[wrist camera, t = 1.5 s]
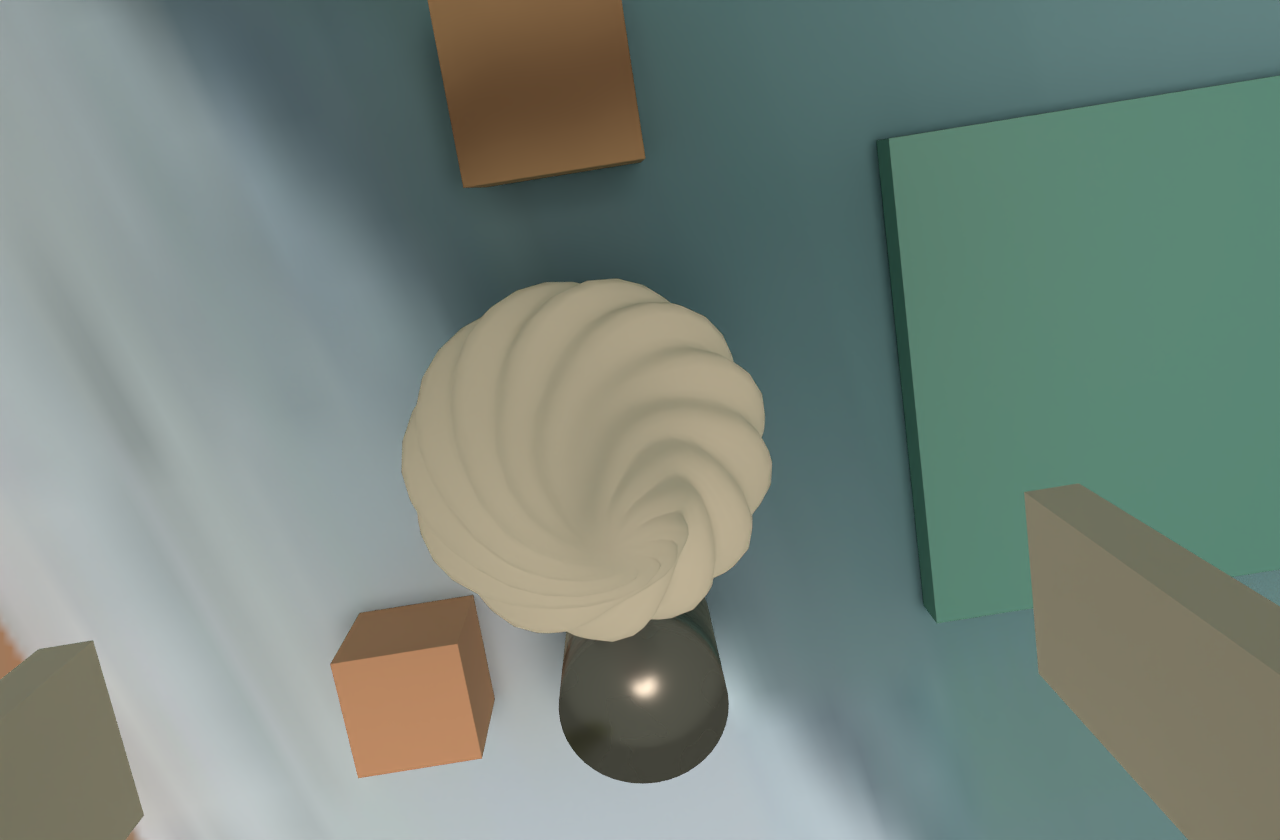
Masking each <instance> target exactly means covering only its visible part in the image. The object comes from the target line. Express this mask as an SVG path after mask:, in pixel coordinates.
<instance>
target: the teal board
mask: <svg viewBox="0 0 1280 840" xmlns="http://www.w3.org/2000/svg"><path fill="white" fill-rule="evenodd" d="M877 151H878V161H879V171H880V180H881V190H882V200H883V210H884V220H885V229H886V239H887V249H888V259H889V269H890V278H891V288H892V298H893V308H894V318H895V328H896V337H897V347H898V357H899V367H900V377H901V386H902V396H903V406H904V416H905V426H906V435H907V445H908V455H909V465H910V475H911V484H912V494H913V504H914V514H915V524H916V534H917V543H918V553H919V563H920V573H921V583H922V592H923V602H924V607H925V608H926V609H927V611H928V612H929V613H930V615H931V616H932V617H933V619H934V620H935V621H936V623H942V622H948V621H955V620H961V619H967V618H974V617H980V616H986V615H993V614H999V613H1005V612H1012V611H1018V610H1024V609H1031V608H1033V596H1032V583H1031V571H1030V559H1029V546H1028V534H1027V521H1026V509H1025V497H1024V492H1028V491H1034V490H1040V489H1046V488H1053V487H1059V486H1065V485H1072V484H1078V483H1079V484H1081V485H1082V486H1084V487H1086V488H1087V489H1089V490H1090V491H1092V492H1094V493H1095V494H1097V495H1099V496H1100V497H1102V498H1103V499H1105V500H1107V501H1108V502H1110V503H1112V504H1113V505H1115V506H1117V507H1118V508H1120V509H1121V510H1123V511H1125V512H1126V513H1128V514H1130V515H1131V516H1133V517H1134V518H1136V519H1138V520H1139V521H1141V522H1143V523H1144V524H1146V525H1147V526H1149V527H1151V528H1152V529H1154V530H1156V531H1157V532H1159V533H1161V534H1162V535H1164V536H1165V537H1167V538H1169V539H1170V540H1172V541H1174V542H1175V543H1177V544H1178V545H1180V546H1182V547H1183V548H1185V549H1187V550H1188V551H1190V552H1192V553H1193V554H1195V555H1196V556H1198V557H1200V558H1201V559H1203V560H1205V561H1206V562H1208V563H1209V564H1211V565H1213V566H1214V567H1216V568H1218V569H1219V570H1221V571H1223V572H1224V573H1226V574H1227V575H1229V576H1231V577H1234V576H1240V575H1247V574H1253V573H1260V572H1266V571H1272V570H1279V569H1280V76H1274V77H1268V78H1261V79H1255V80H1249V81H1243V82H1237V83H1230V84H1224V85H1218V86H1212V87H1206V88H1199V89H1193V90H1187V91H1181V92H1175V93H1168V94H1162V95H1156V96H1150V97H1144V98H1137V99H1131V100H1125V101H1119V102H1113V103H1106V104H1100V105H1094V106H1088V107H1082V108H1075V109H1069V110H1063V111H1057V112H1051V113H1044V114H1038V115H1032V116H1026V117H1020V118H1013V119H1007V120H1001V121H995V122H989V123H982V124H976V125H970V126H964V127H958V128H951V129H945V130H939V131H933V132H927V133H920V134H914V135H908V136H902V137H896V138H889V139H883V140H877Z"/></svg>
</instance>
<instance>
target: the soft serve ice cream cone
mask: <svg viewBox="0 0 1280 840" xmlns="http://www.w3.org/2000/svg"><path fill="white" fill-rule="evenodd" d="M764 426H765V412H764V405H763V398H762V393H761V392H760V390H759V388H758V387H757V385H756V384H755V382H754V380H753V379H752V377H751V375H750V374H749V373H748V372H746V371H745V370H744V369H743V368H742V367H740V366H739V365H737V364H735V363H734V361H733V358H732V354H731V352H730V350H729V348H728V346H727V343H726V341H725V339H724V337H723V335H722V333H721V332H720V331H719V330H718V329H717V328H716V327H715V326H714V325H713V324H712V323H711V322H710V321H709V320H708V319H707V318H706V317H705V316H703V315H700V314H698V313H696V312H694V311H692V310H690V309H687V308H685V307H683V306H681V305H677V304H673V303H670V302H669V301H667V300H666V299H665V298H664V297H662V296H661V295H659V294H657V293H656V292H654V291H652V290H651V289H649V288H647V287H646V286H644V285H641V284H637V283H633V282H629V281H625V280H621V279H617V278H616V279H604V280H592V281H586V282H583V283H581V284H579V283H575V282H544V283H541V284H538V285H534V286H531V287H527V288H524V289H520V290H517V291H515V292H514V293H512V294H511V295H509V296H508V297H506V298H505V299H503V300H501V301H500V302H498V303H497V304H495V305H494V306H492V307H491V308H490V309H489V310H488V311H487V312H486V313H485V314H484V315H483V316H482V317H481V318H479V319H477V320H476V321H474V322H472V323H470V324H468V325H467V326H465V327H463V328H461V329H460V330H459V331H458V332H457V333H456V334H455V335H454V336H453V337H452V338H451V339H450V340H449V341H448V342H446V343H445V344H444V345H443V346H442V347H441V348H440V349H439V350H438V352H437V353H436V355H435V357H434V359H433V360H432V362H431V364H430V365H429V367H428V369H427V371H426V372H425V374H424V376H423V377H422V381H421V386H420V391H419V396H418V400H417V405H416V407H415V408H414V410H413V411H412V414H411V417H410V420H409V423H408V426H407V429H406V432H405V435H404V438H403V441H402V475H403V478H404V482H405V485H406V488H407V491H408V495H409V498H410V501H411V502H412V504H413V506H414V508H415V509H416V511H417V514H418V522H419V527H420V532H421V535H422V538H423V540H424V542H425V544H426V546H427V548H428V550H429V552H430V554H431V556H432V558H433V560H434V562H435V563H436V564H437V565H438V566H439V567H440V568H441V569H442V570H443V571H444V572H445V573H446V574H447V575H448V576H449V577H450V578H451V579H452V580H453V581H455V582H457V583H459V584H461V585H462V586H464V587H466V588H468V589H469V590H471V591H473V592H475V593H477V594H479V596H480V597H481V598H482V600H483V601H484V602H485V603H486V604H487V606H488V607H489V608H490V609H491V610H492V611H493V612H495V613H496V614H497V615H499V616H500V617H502V618H503V619H504V620H506V621H507V622H509V623H510V624H511V625H513V626H515V627H518V628H522V629H525V630H529V631H533V632H536V633H557V632H566V631H567V632H569V633H571V634H573V635H575V636H578V637H582V638H586V639H593V640H601V641H610V642H614V641H617V640H620V639H624V638H627V637H630V636H634V635H635V634H636V633H638V632H639V631H640V630H642V629H643V628H644V627H645V626H646V624H647V623H648V622H649V621H650V620H651V619H659V620H660V619H668V618H673V617H675V616H678V615H680V614H683V613H686V612H688V611H691V610H693V609H694V608H695V607H696V606H697V605H698V604H699V602H700V601H701V600H702V599H703V598H704V597H705V596H706V595H707V593H708V591H709V590H710V588H711V586H712V583H713V578H715V577H717V576H719V575H721V574H723V573H725V572H726V571H728V570H729V569H730V568H732V567H733V566H734V565H735V564H736V563H737V562H738V561H739V559H740V558H741V557H742V556H743V554H744V553H745V552H746V551H747V550H748V548H749V543H750V537H751V532H752V514H753V513H754V511H755V510H756V509H757V508H758V506H759V505H760V503H761V502H762V500H763V498H764V496H765V494H766V492H767V490H768V489H769V487H770V485H771V471H772V461H771V457H770V454H769V450H768V449H767V447H766V445H765V443H764V441H763V439H762V435H763V431H764Z"/></svg>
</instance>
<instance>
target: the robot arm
mask: <svg viewBox="0 0 1280 840" xmlns="http://www.w3.org/2000/svg"><path fill="white" fill-rule="evenodd" d="M1024 497H1025V509H1026V521H1027V534H1028V546H1029V559H1030V571H1031V583H1032V596H1033V608H1034V621H1035V633H1036V646H1037V658H1038V670H1039V674H1040V675H1041V676H1042V678H1043V679H1044V680H1045V681H1046V682H1047V683H1048V684H1049V685H1050V686H1051V688H1052V689H1053V690H1054V691H1055V692H1056V693H1057V694H1058V695H1059V696H1060V698H1061V699H1062V700H1063V701H1064V702H1065V703H1066V704H1067V705H1068V706H1069V708H1070V709H1071V710H1072V711H1073V712H1074V713H1075V714H1076V715H1077V716H1078V718H1079V719H1080V720H1081V721H1082V722H1083V723H1084V724H1085V725H1086V726H1087V728H1088V729H1089V730H1090V731H1091V732H1092V733H1093V734H1094V735H1095V736H1096V738H1097V739H1098V740H1099V741H1100V742H1101V743H1102V744H1103V745H1104V746H1105V748H1106V749H1107V750H1108V751H1109V752H1110V753H1111V754H1112V755H1113V757H1114V758H1115V759H1116V760H1117V761H1118V762H1119V763H1120V764H1121V765H1122V767H1123V768H1124V769H1125V770H1126V771H1127V772H1128V773H1129V774H1130V775H1131V777H1132V778H1133V779H1134V780H1135V781H1136V782H1137V783H1138V784H1139V785H1140V787H1141V788H1142V789H1143V790H1144V791H1145V792H1146V793H1147V794H1148V795H1149V797H1150V798H1151V799H1152V800H1153V801H1154V802H1155V803H1156V804H1157V805H1158V807H1159V808H1160V809H1161V810H1162V811H1163V812H1164V813H1165V814H1166V815H1167V817H1168V818H1169V819H1170V820H1171V821H1172V822H1173V823H1174V824H1175V826H1176V827H1177V828H1178V829H1179V830H1180V831H1181V832H1182V833H1183V834H1184V836H1185V837H1186V838H1187V839H1188V840H1280V606H1278V605H1276V604H1275V603H1273V602H1271V601H1270V600H1268V599H1267V598H1265V597H1263V596H1262V595H1260V594H1258V593H1257V592H1255V591H1254V590H1252V589H1250V588H1249V587H1247V586H1245V585H1244V584H1242V583H1240V582H1239V581H1237V580H1236V579H1234V578H1232V577H1231V576H1229V575H1227V574H1226V573H1224V572H1223V571H1221V570H1219V569H1218V568H1216V567H1214V566H1213V565H1211V564H1209V563H1208V562H1206V561H1205V560H1203V559H1201V558H1200V557H1198V556H1196V555H1195V554H1193V553H1192V552H1190V551H1188V550H1187V549H1185V548H1183V547H1182V546H1180V545H1178V544H1177V543H1175V542H1174V541H1172V540H1170V539H1169V538H1167V537H1165V536H1164V535H1162V534H1161V533H1159V532H1157V531H1156V530H1154V529H1152V528H1151V527H1149V526H1147V525H1146V524H1144V523H1143V522H1141V521H1139V520H1138V519H1136V518H1134V517H1133V516H1131V515H1130V514H1128V513H1126V512H1125V511H1123V510H1121V509H1120V508H1118V507H1117V506H1115V505H1113V504H1112V503H1110V502H1108V501H1107V500H1105V499H1103V498H1102V497H1100V496H1099V495H1097V494H1095V493H1094V492H1092V491H1090V490H1089V489H1087V488H1086V487H1084V486H1082V485H1081V484H1079V483H1078V484H1072V485H1065V486H1059V487H1053V488H1046V489H1040V490H1034V491H1028V492H1024ZM143 816H144V814H143V810H142V807H141V804H140V800H139V797H138V793H137V790H136V786H135V783H134V780H133V776H132V773H131V769H130V766H129V762H128V759H127V756H126V752H125V749H124V745H123V742H122V738H121V735H120V732H119V728H118V725H117V721H116V718H115V714H114V711H113V708H112V704H111V701H110V697H109V694H108V690H107V687H106V684H105V680H104V677H103V673H102V670H101V666H100V663H99V660H98V656H97V653H96V649H95V646H94V642H93V641H87V642H80V643H74V644H68V645H62V646H55V647H49V648H43V649H38V650H37V651H36V652H35V653H33V654H32V655H31V656H30V657H28V658H27V659H26V660H25V661H23V662H22V663H21V664H20V665H18V666H17V667H16V668H14V669H13V670H12V671H11V672H9V673H8V674H7V675H6V676H4V677H3V678H2V679H1V680H0V840H126V838H127V837H128V836H129V834H130V833H131V832H132V830H133V829H134V828H135V826H136V825H137V824H138V822H139V821H140V820H141V818H142V817H143Z"/></svg>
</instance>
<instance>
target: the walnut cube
mask: <svg viewBox="0 0 1280 840" xmlns="http://www.w3.org/2000/svg"><path fill="white" fill-rule="evenodd" d="M428 4H429V10H430V15H431V20H432V25H433V31H434V36H435V41H436V46H437V52H438V57H439V62H440V67H441V73H442V78H443V83H444V88H445V94H446V99H447V104H448V109H449V115H450V120H451V125H452V130H453V136H454V141H455V146H456V151H457V157H458V162H459V167H460V172H461V178H462V183H463V188H476V187H491V186H497V185H503V184H509V183H515V182H522V181H528V180H534V179H540V178H546V177H553V176H559V175H565V174H571V173H577V172H584V171H590V170H596V169H602V168H608V167H615V166H621V165H627V164H633V163H639V162H642V161H643V160H644V159H645V153H644V146H643V139H642V133H641V126H640V120H639V113H638V106H637V100H636V93H635V87H634V80H633V73H632V67H631V60H630V53H629V47H628V40H627V34H626V27H625V20H624V14H623V7H622V1H621V0H428Z"/></svg>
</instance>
